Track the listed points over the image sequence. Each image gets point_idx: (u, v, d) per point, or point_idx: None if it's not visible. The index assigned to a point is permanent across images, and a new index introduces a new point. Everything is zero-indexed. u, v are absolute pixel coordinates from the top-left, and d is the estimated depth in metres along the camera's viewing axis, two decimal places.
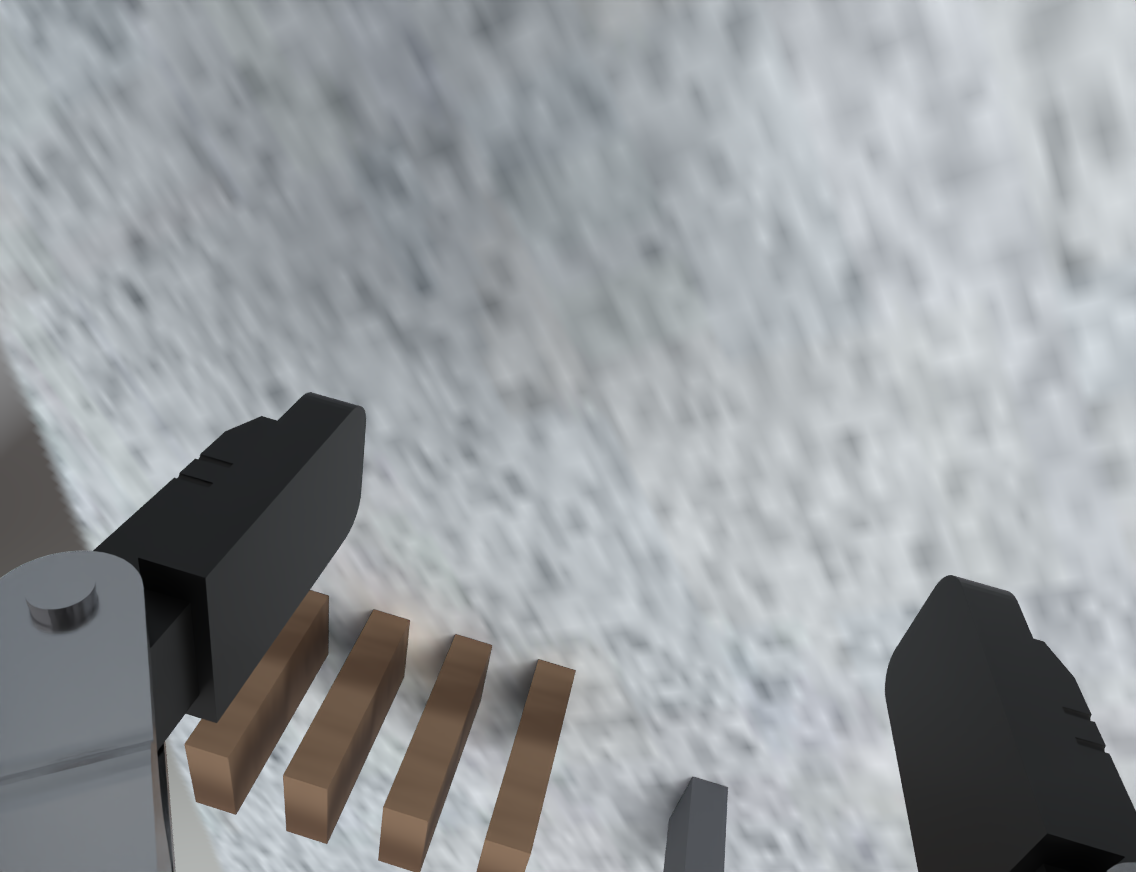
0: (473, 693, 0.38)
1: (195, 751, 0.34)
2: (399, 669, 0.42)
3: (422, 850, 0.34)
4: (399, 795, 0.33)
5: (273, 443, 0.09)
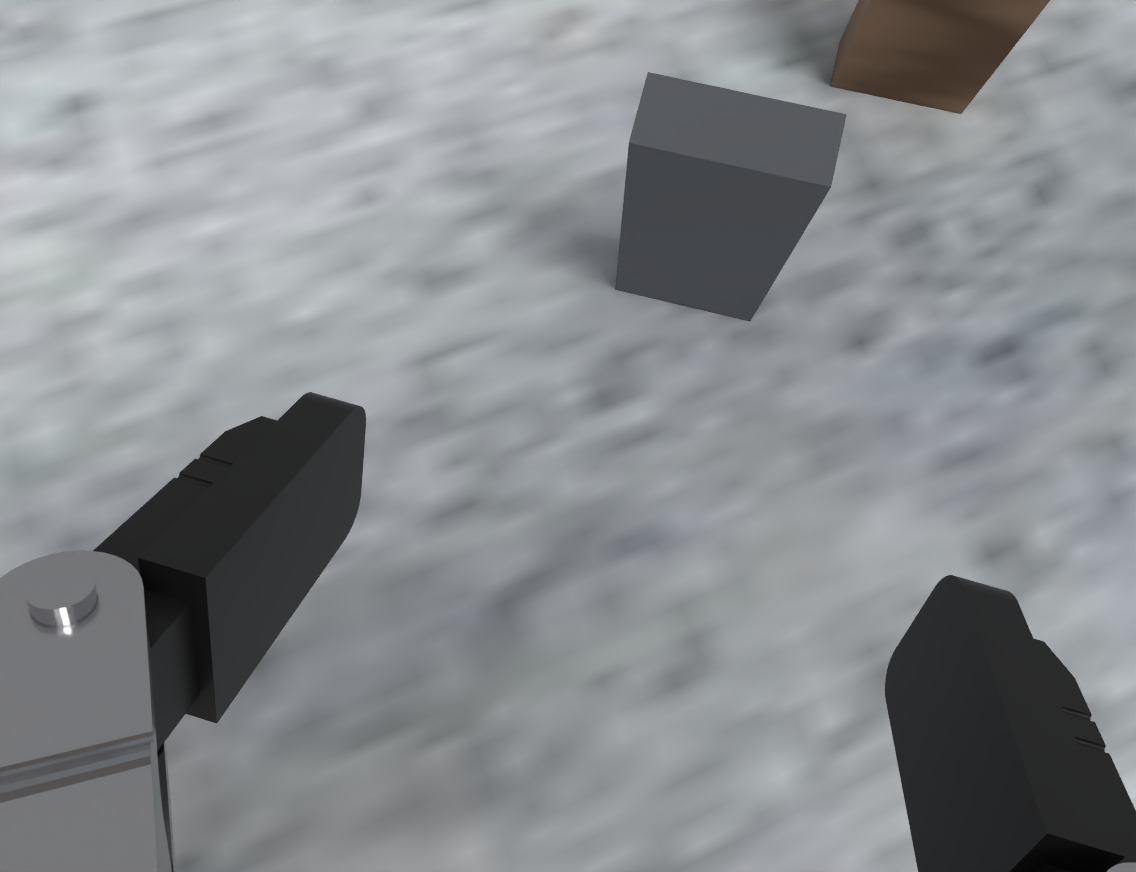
0: None
1: None
2: None
3: None
4: None
5: (273, 443, 0.09)
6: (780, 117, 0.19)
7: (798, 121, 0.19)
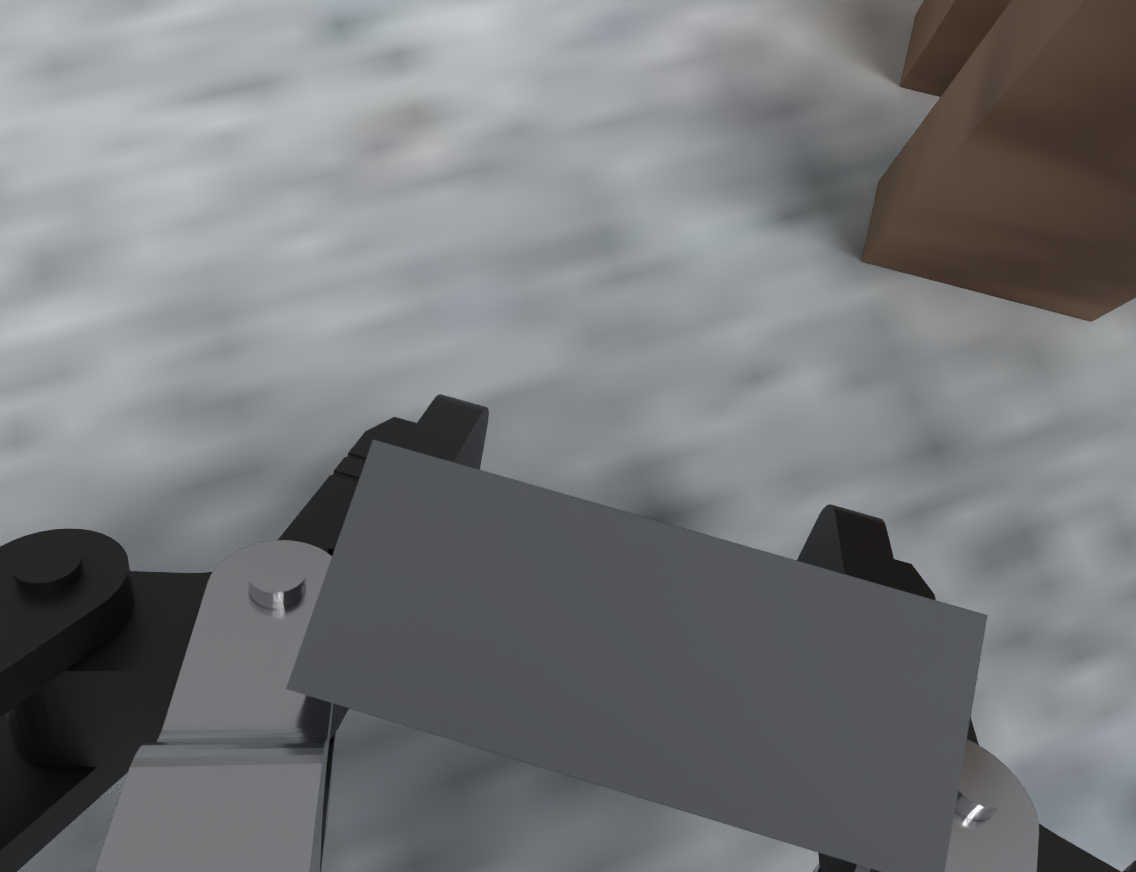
0: None
1: None
2: None
3: None
4: None
5: (420, 442, 0.10)
6: (778, 616, 0.06)
7: (835, 634, 0.06)
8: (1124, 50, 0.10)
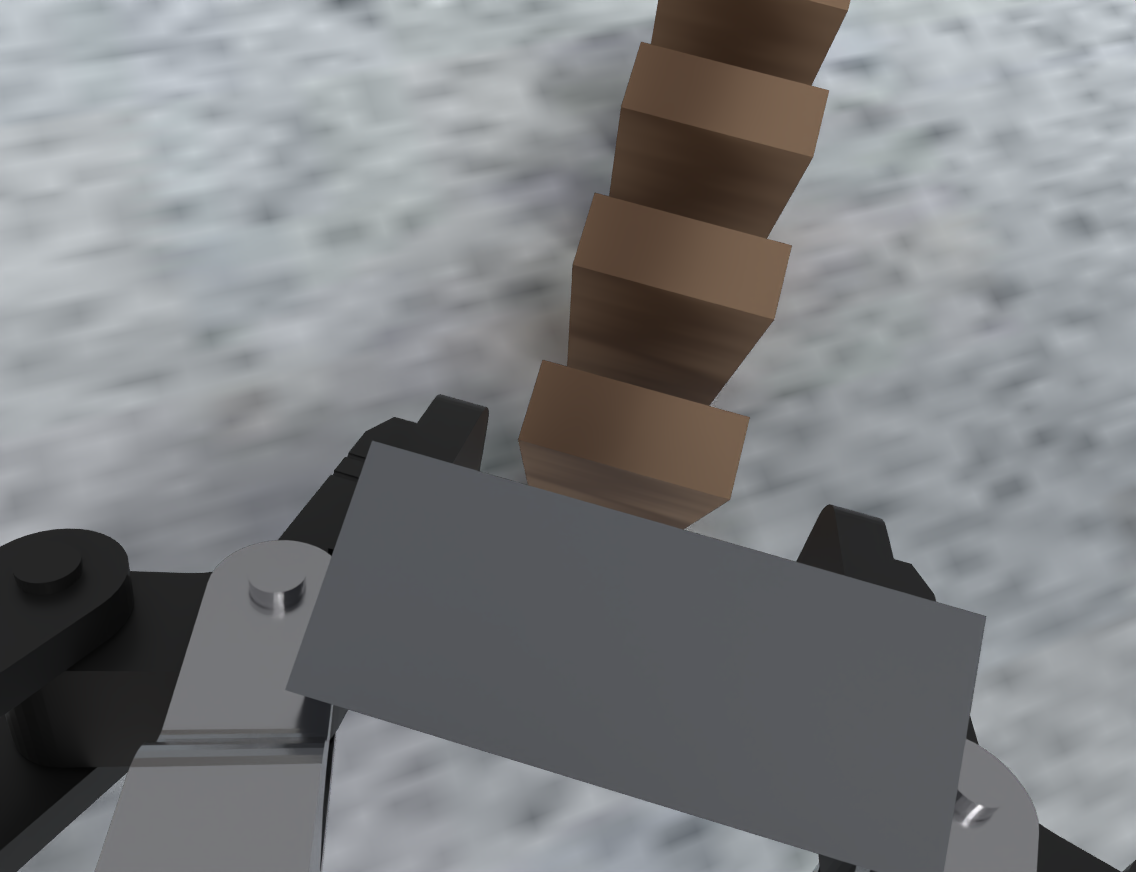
0: (718, 391, 0.25)
1: None
2: None
3: (664, 288, 0.19)
4: None
5: (420, 442, 0.10)
6: (777, 618, 0.06)
7: (834, 635, 0.06)
8: (556, 470, 0.20)
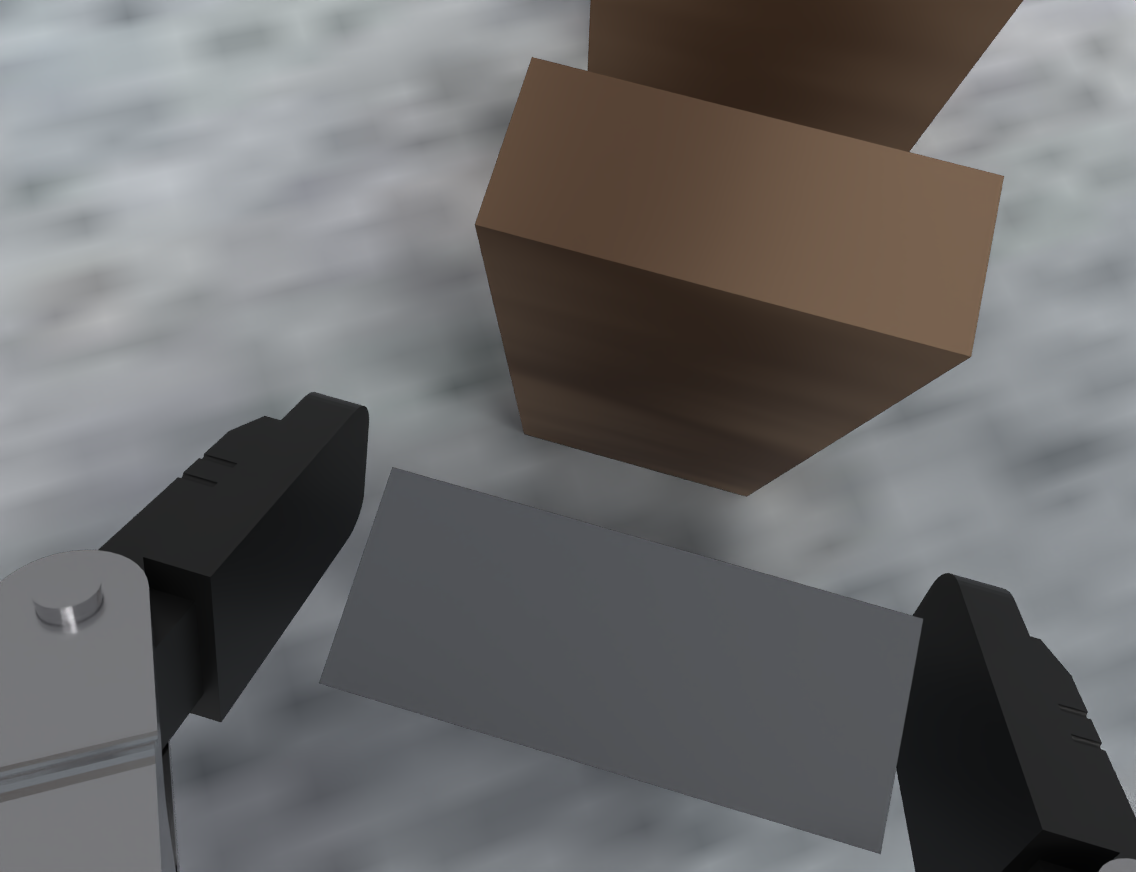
0: None
1: None
2: None
3: None
4: None
5: (277, 443, 0.09)
6: (743, 620, 0.07)
7: (792, 635, 0.07)
8: (562, 338, 0.10)
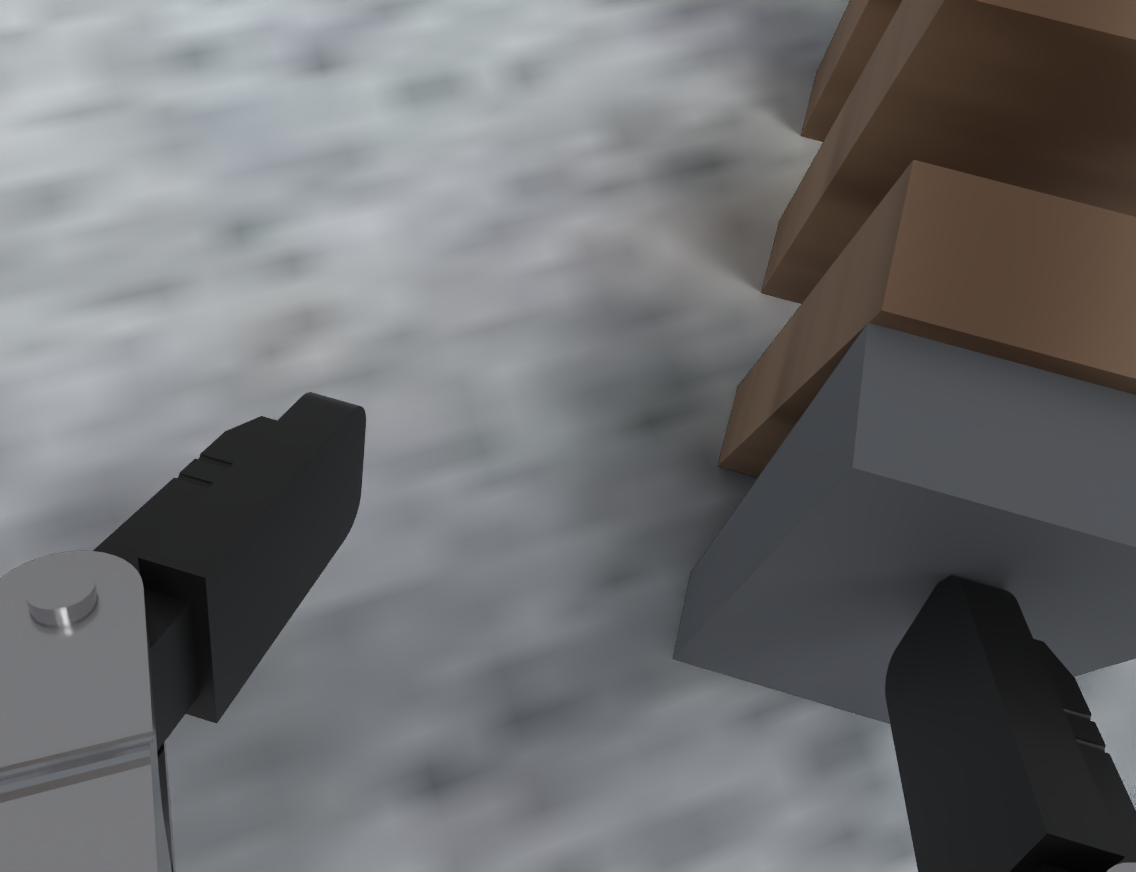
0: None
1: None
2: None
3: (1128, 35, 0.10)
4: None
5: (273, 443, 0.09)
6: None
7: None
8: None
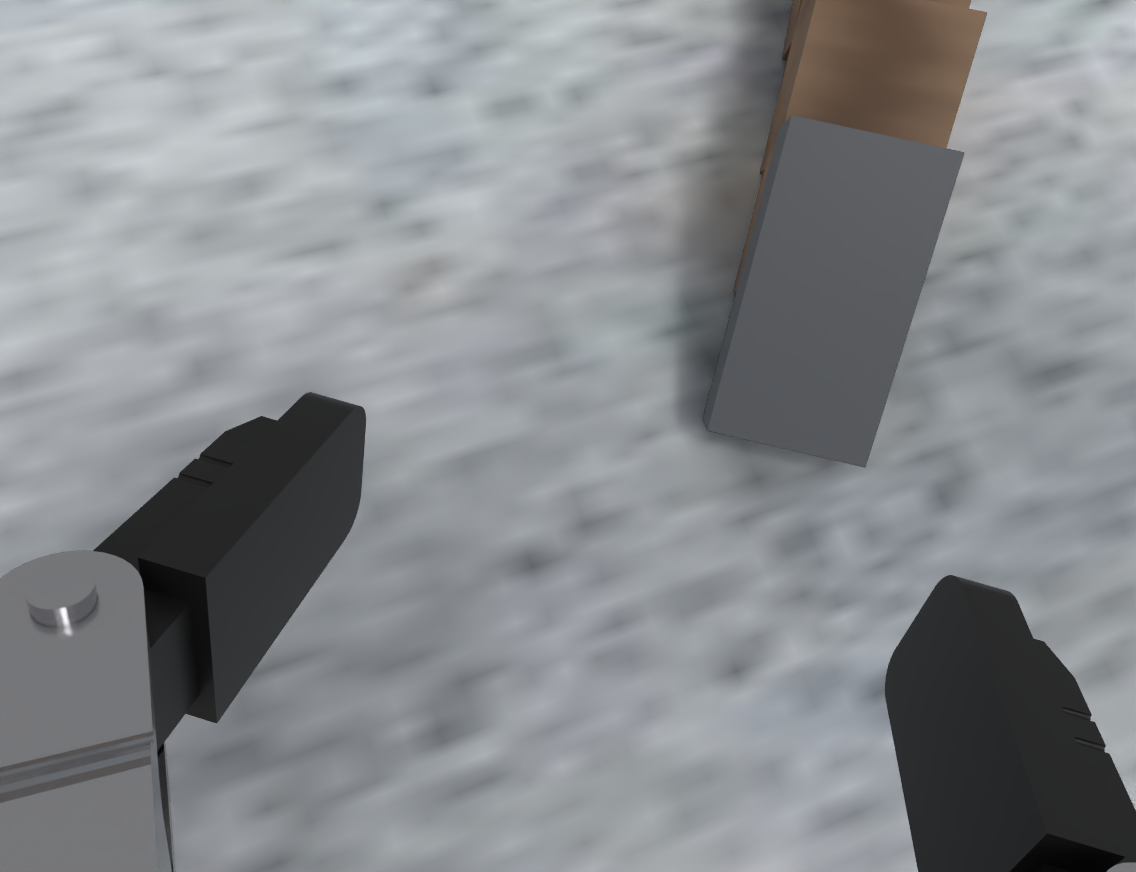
0: None
1: None
2: None
3: None
4: None
5: (273, 443, 0.09)
6: None
7: None
8: (826, 77, 0.24)
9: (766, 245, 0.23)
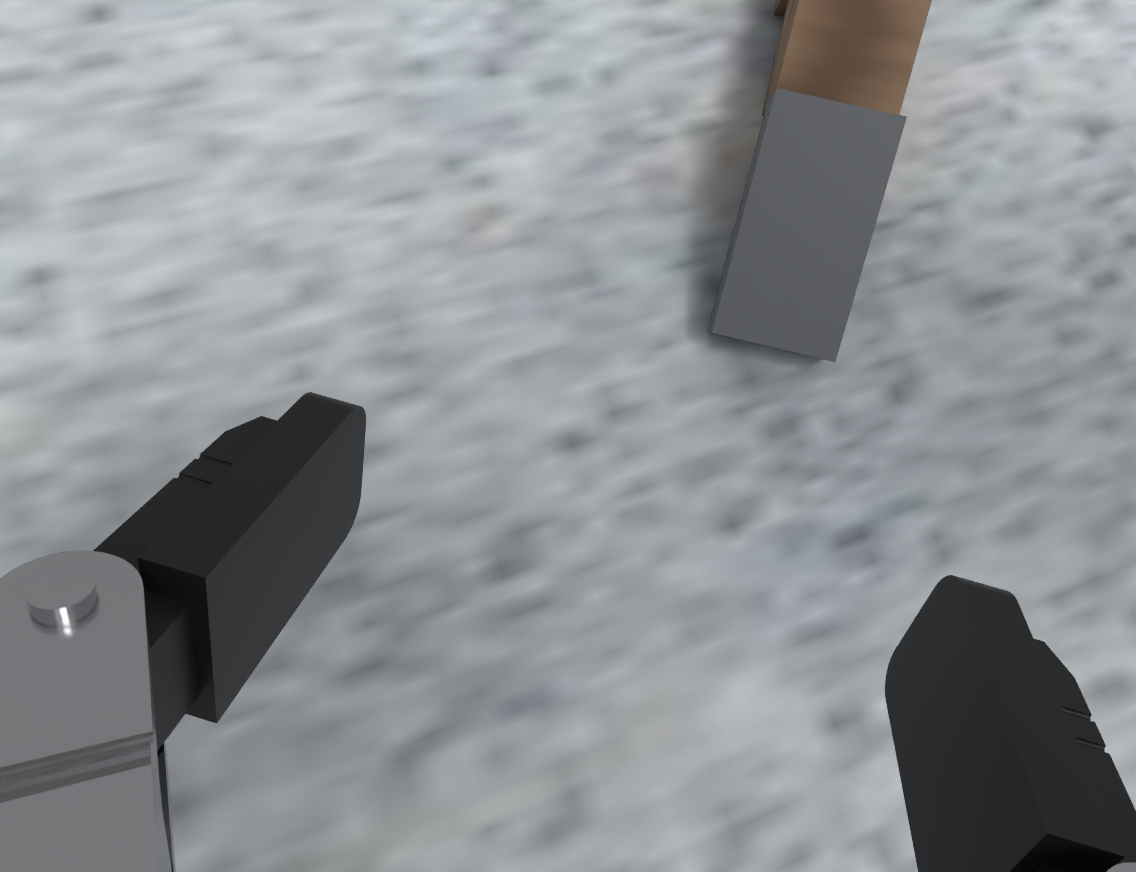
0: None
1: None
2: None
3: None
4: None
5: (273, 443, 0.09)
6: None
7: None
8: (810, 48, 0.31)
9: (757, 187, 0.30)
